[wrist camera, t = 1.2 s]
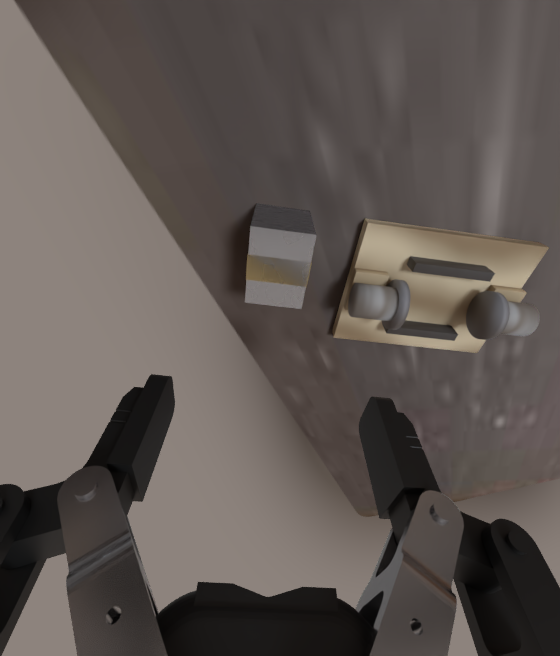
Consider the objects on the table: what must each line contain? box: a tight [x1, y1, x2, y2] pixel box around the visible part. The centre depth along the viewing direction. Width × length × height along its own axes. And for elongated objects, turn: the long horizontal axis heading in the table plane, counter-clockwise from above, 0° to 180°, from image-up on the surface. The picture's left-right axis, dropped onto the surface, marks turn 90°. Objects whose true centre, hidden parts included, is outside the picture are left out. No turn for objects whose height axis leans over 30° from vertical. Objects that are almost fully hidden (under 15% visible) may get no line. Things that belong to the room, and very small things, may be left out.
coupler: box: [245, 203, 316, 309], centre depth 24 cm, size 6×5×6 cm
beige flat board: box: [332, 219, 549, 353], centre depth 27 cm, size 12×16×6 cm
